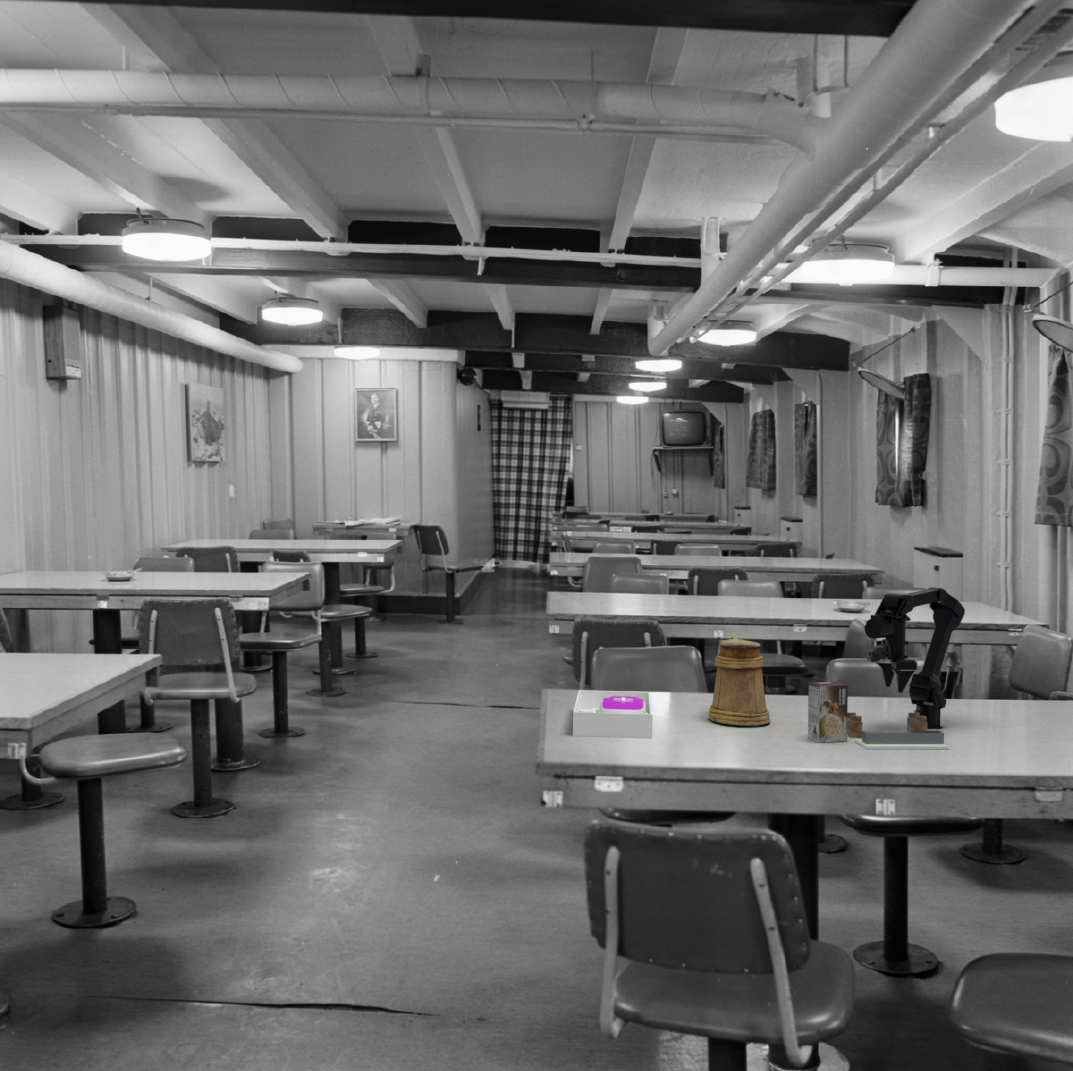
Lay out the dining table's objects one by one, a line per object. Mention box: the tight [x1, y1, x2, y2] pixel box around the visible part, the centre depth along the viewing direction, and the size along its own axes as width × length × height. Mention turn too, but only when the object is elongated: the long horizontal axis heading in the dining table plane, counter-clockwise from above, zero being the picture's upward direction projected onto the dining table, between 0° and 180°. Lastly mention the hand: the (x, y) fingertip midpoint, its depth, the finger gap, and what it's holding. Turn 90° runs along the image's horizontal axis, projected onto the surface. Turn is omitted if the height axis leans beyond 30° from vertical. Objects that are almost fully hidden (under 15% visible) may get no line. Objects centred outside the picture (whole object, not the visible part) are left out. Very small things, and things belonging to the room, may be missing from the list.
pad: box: [854, 738, 950, 751], centre depth 290 cm, size 23×9×1 cm, turn 93°
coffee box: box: [807, 681, 849, 744], centre depth 295 cm, size 9×6×16 cm
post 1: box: [847, 711, 863, 739], centre depth 302 cm, size 3×7×6 cm, turn 3°
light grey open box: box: [572, 689, 654, 739], centre depth 313 cm, size 22×35×7 cm, turn 175°
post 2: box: [906, 712, 928, 731], centre depth 303 cm, size 3×7×6 cm, turn 3°
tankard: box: [708, 634, 771, 726], centre depth 321 cm, size 18×24×25 cm
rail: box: [861, 730, 945, 744], centre depth 290 cm, size 22×3×3 cm, turn 93°
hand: (893, 689), depth 306 cm, fingers open, 9 cm apart
